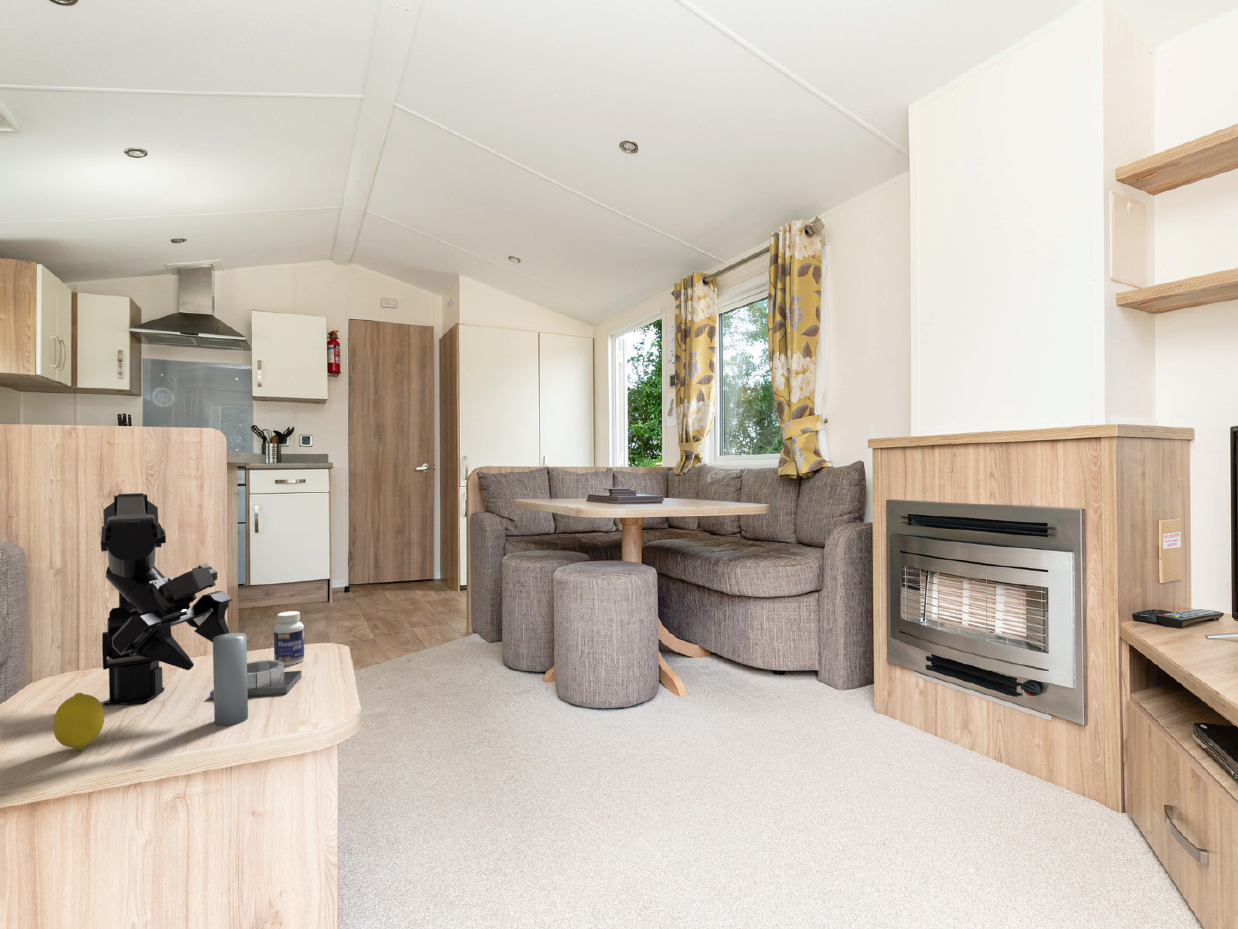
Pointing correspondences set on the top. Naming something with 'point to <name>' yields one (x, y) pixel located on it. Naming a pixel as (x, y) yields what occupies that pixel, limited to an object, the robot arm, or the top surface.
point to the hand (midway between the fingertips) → (212, 658)
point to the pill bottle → (289, 638)
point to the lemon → (78, 721)
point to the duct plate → (275, 687)
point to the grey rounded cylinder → (230, 679)
